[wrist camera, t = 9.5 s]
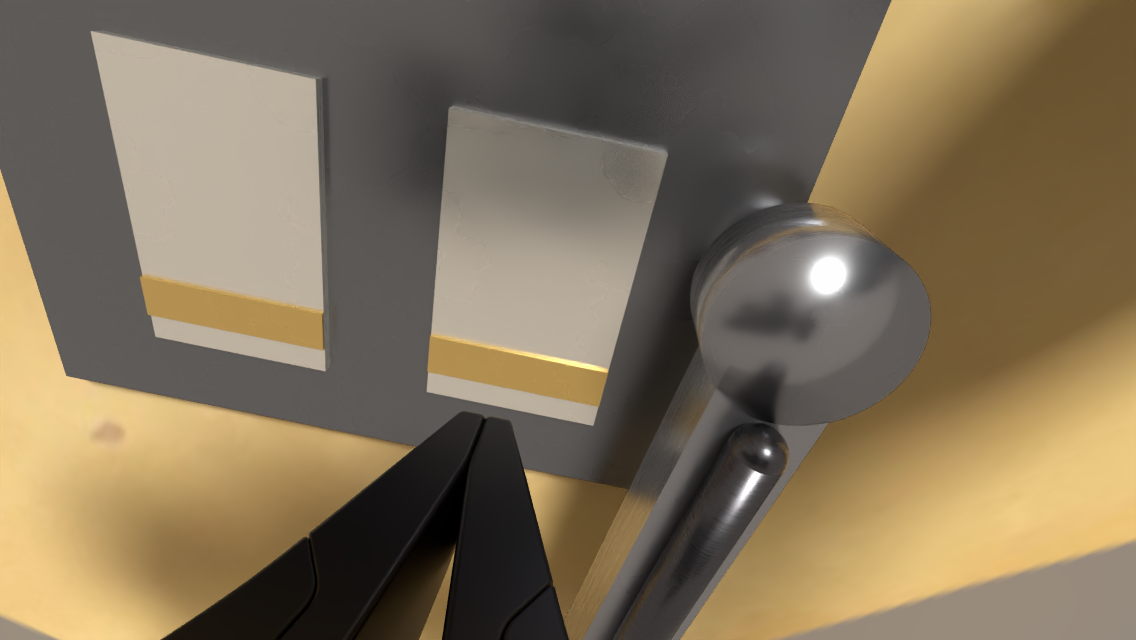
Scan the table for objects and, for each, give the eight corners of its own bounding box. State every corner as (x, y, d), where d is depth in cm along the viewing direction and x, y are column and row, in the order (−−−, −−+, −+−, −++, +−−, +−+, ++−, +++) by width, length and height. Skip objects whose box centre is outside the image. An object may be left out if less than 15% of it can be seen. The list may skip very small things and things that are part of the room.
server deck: (973, -158, 10) (1078, -209, 8) (700, 481, 19) (712, 548, 16) (-126, -409, 10) (-358, -544, 8) (93, 358, 18) (14, 409, 16)
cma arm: (737, 176, 11) (774, 228, 8) (923, 236, 11) (1017, 304, 8) (506, 691, 20) (490, 790, 18) (609, 716, 21) (607, 818, 18)
